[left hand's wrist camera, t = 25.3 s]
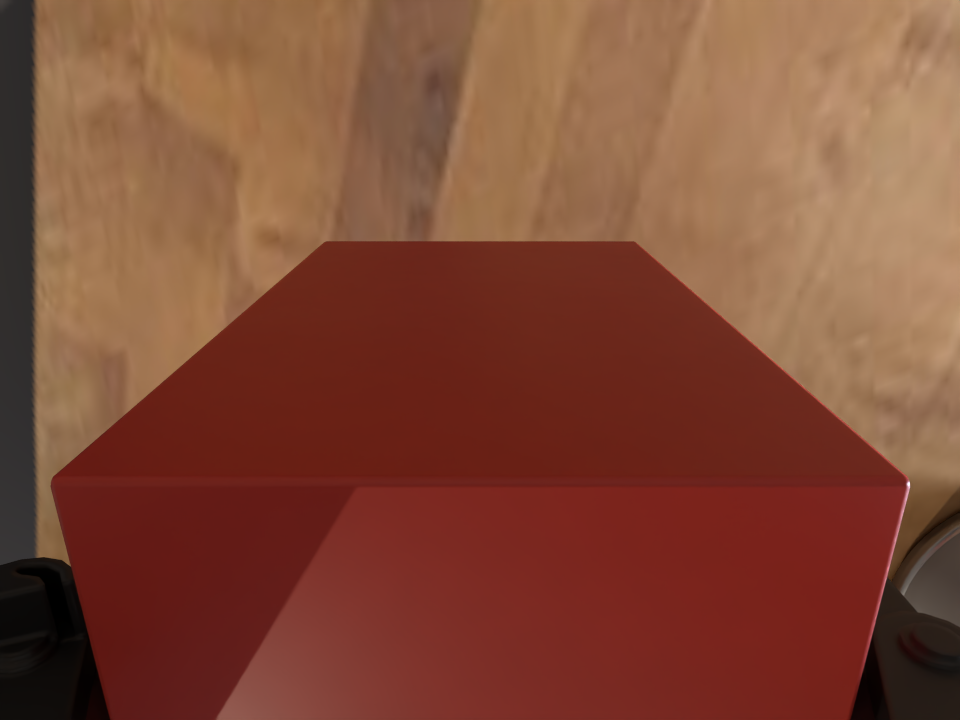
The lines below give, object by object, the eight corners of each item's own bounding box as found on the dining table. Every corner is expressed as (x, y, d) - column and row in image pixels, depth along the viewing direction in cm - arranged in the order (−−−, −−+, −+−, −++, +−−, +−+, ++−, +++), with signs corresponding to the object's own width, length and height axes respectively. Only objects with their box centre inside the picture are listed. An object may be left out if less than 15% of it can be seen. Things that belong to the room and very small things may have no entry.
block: (323, 241, 16) (44, 478, 6) (636, 241, 16) (916, 480, 6) (347, 527, 18) (186, 1032, 8) (613, 527, 18) (773, 1032, 8)
